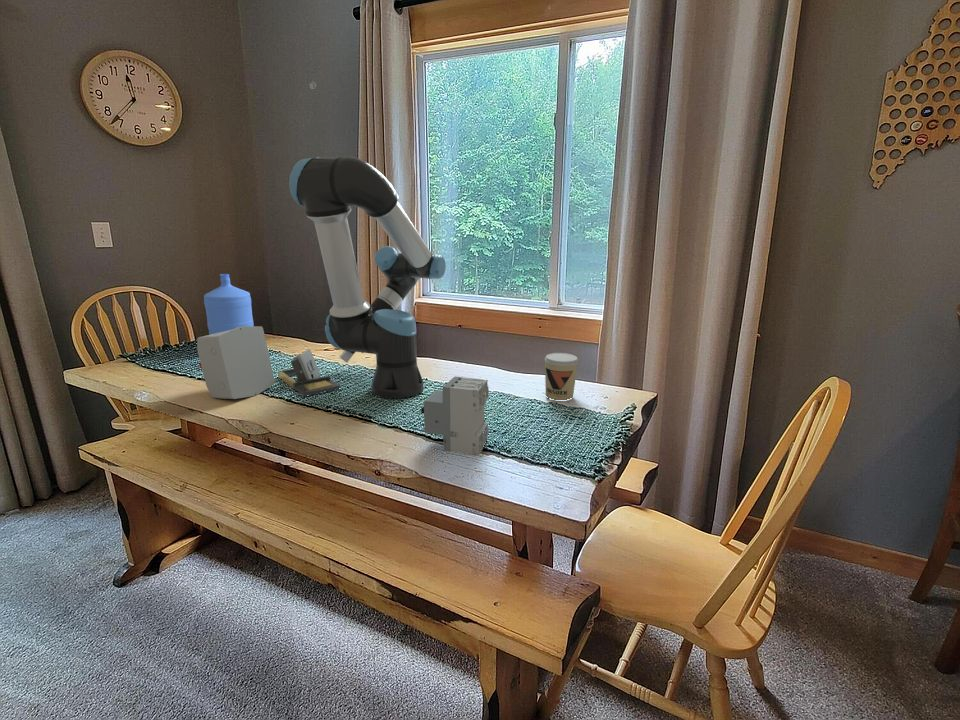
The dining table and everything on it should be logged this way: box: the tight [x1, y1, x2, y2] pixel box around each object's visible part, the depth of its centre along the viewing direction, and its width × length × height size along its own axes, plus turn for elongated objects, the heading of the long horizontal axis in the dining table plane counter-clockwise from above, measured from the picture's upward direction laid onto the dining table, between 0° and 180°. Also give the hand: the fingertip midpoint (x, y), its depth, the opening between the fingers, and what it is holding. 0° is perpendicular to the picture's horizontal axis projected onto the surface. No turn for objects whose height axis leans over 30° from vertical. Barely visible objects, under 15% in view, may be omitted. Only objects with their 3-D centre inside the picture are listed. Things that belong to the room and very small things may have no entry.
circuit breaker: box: [420, 376, 490, 456], centre depth 113 cm, size 8×14×15 cm, turn 73°
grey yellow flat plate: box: [277, 368, 342, 397], centre depth 154 cm, size 22×11×2 cm, turn 39°
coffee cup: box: [544, 352, 579, 400], centre depth 143 cm, size 9×9×12 cm
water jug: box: [203, 273, 255, 335], centre depth 187 cm, size 16×16×28 cm
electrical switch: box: [290, 349, 321, 382], centre depth 155 cm, size 9×5×9 cm, turn 0°
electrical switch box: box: [196, 325, 276, 400], centre depth 144 cm, size 15×15×20 cm
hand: (343, 359), depth 164 cm, fingers closed
